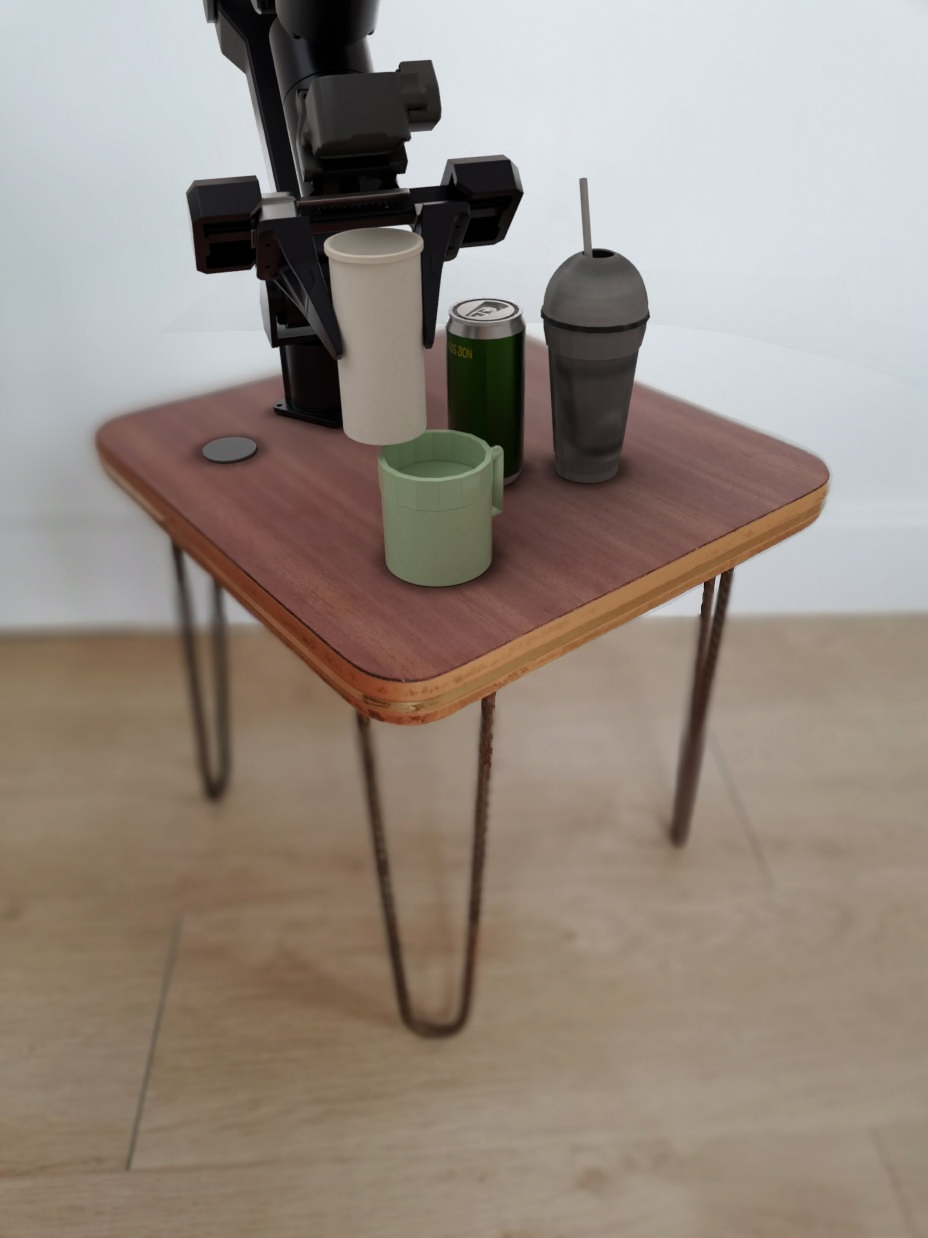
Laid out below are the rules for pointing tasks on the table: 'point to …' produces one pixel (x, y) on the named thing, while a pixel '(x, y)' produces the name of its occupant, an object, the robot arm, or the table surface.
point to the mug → (440, 506)
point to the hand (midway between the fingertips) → (384, 351)
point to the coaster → (229, 450)
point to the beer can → (488, 375)
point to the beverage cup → (592, 354)
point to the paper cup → (379, 333)
